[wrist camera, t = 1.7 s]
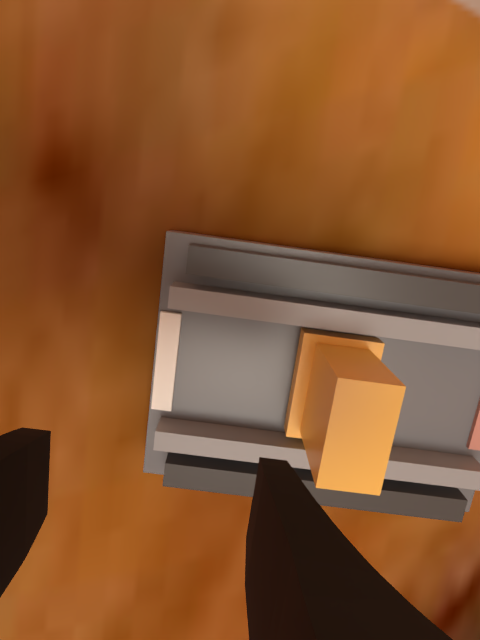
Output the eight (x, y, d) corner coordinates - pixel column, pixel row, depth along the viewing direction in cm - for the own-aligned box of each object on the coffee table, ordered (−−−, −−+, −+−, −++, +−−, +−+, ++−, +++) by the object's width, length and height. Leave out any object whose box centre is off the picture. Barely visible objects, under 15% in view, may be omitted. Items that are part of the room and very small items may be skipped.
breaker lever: (284, 426, 18) (297, 494, 13) (301, 327, 17) (322, 365, 12) (356, 436, 18) (394, 506, 13) (378, 337, 17) (425, 379, 12)
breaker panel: (150, 453, 20) (136, 489, 17) (172, 230, 17) (160, 231, 15) (452, 490, 20) (483, 531, 17) (512, 277, 18) (559, 287, 15)
